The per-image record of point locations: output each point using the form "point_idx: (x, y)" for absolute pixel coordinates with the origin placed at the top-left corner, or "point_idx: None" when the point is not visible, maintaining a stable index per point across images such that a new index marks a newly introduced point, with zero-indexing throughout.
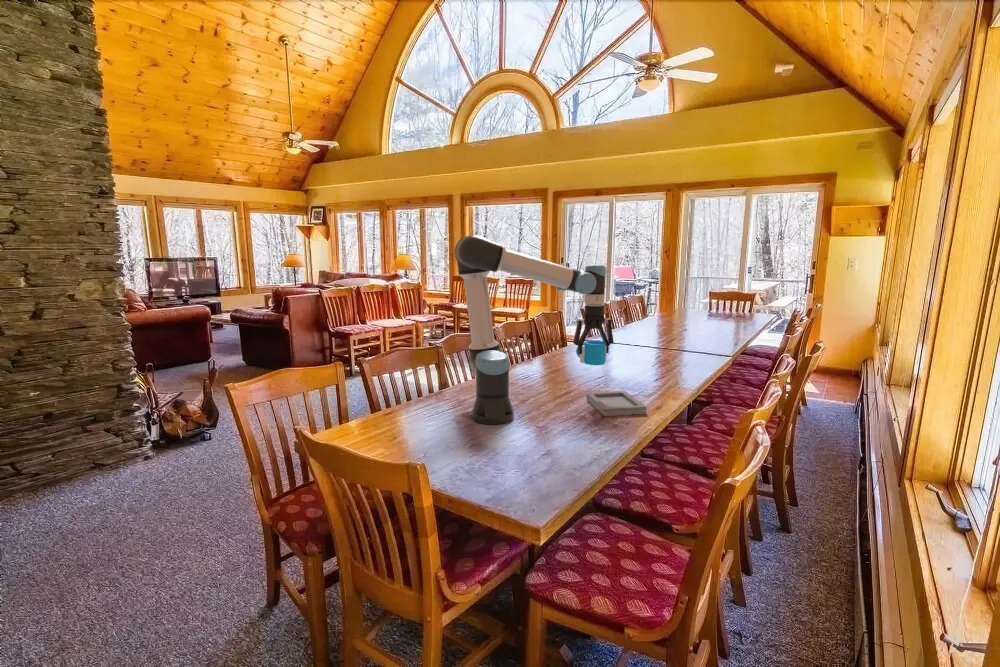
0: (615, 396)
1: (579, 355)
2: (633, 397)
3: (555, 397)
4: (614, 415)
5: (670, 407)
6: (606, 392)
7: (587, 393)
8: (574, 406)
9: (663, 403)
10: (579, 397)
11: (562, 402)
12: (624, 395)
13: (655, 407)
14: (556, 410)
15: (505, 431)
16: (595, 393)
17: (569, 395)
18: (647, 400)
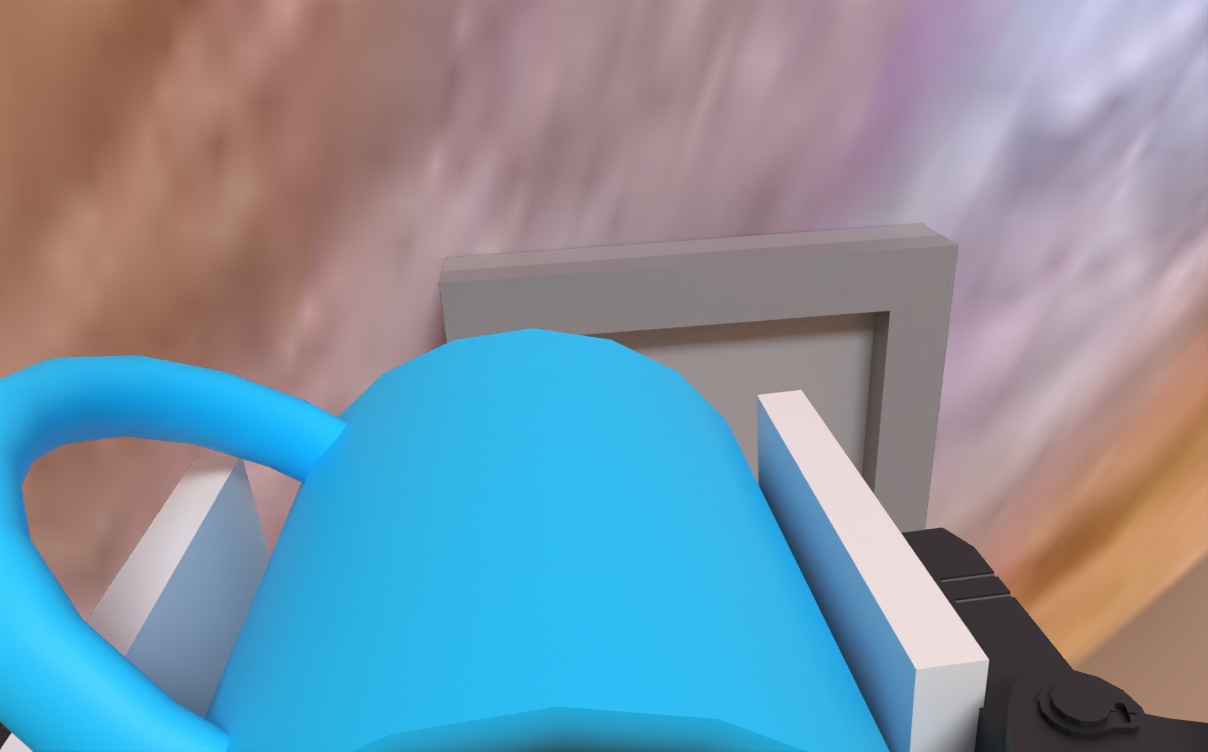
0: (788, 320)
1: (140, 429)
2: (928, 484)
3: (33, 131)
4: None
5: (1177, 546)
6: (704, 280)
7: (443, 305)
8: (263, 477)
9: (1196, 441)
10: (369, 162)
11: (130, 340)
12: (879, 377)
13: (1050, 540)
14: (59, 578)
15: None
16: (549, 312)
17: (241, 57)
18: (1107, 341)
